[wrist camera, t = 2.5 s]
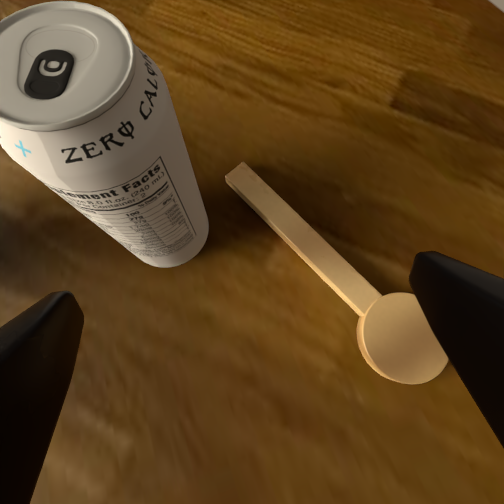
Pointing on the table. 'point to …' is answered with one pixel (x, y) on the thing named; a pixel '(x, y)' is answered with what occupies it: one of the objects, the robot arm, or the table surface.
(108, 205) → the energy drink can
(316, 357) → the table surface
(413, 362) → the wooden spoon
